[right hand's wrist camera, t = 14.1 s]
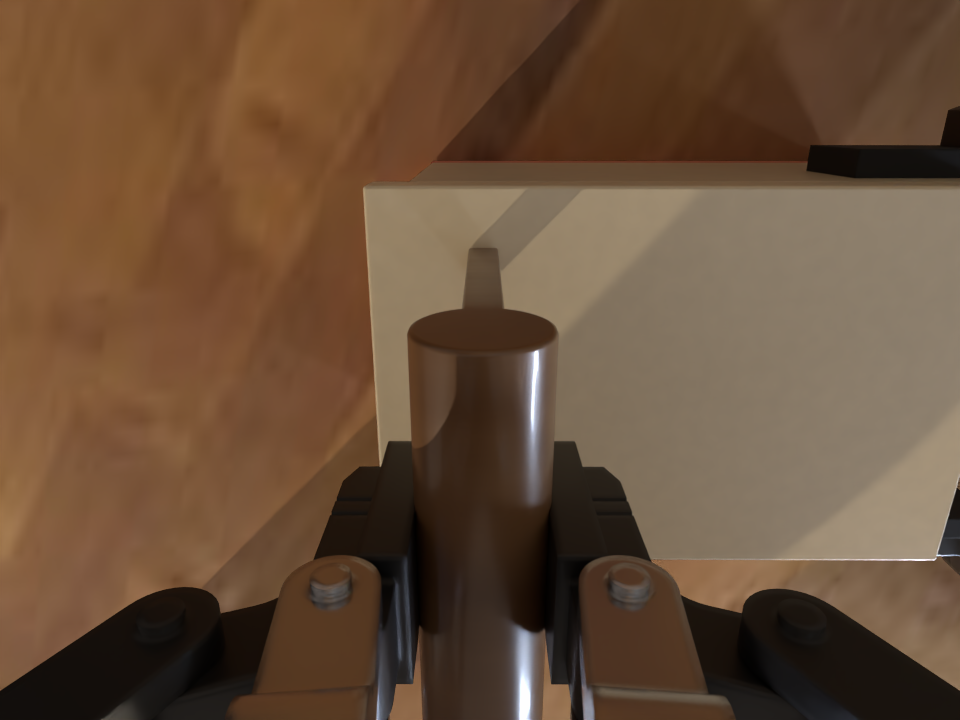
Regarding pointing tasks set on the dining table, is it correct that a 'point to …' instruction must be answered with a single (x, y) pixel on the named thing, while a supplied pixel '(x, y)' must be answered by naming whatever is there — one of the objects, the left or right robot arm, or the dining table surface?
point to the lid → (656, 385)
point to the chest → (636, 172)
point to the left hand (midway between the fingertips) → (797, 349)
